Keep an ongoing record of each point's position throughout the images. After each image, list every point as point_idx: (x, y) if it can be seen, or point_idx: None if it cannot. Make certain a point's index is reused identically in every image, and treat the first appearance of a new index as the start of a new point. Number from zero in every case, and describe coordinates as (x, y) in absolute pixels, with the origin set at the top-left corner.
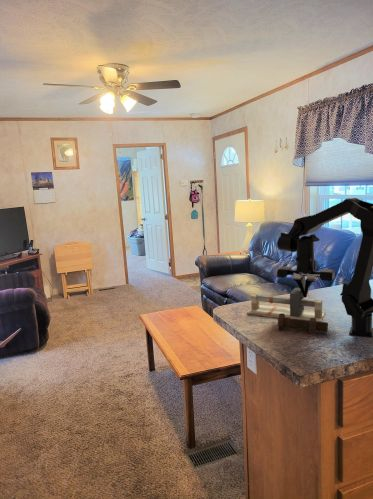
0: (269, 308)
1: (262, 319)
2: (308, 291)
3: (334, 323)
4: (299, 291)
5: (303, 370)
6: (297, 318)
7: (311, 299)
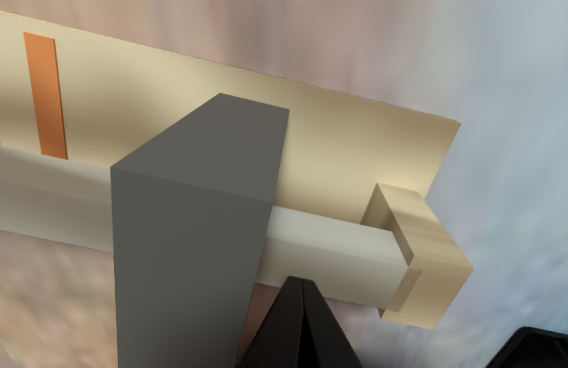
0: (9, 86)
1: (62, 260)
2: (342, 331)
3: None
4: (217, 350)
5: None
6: None
7: (362, 256)
